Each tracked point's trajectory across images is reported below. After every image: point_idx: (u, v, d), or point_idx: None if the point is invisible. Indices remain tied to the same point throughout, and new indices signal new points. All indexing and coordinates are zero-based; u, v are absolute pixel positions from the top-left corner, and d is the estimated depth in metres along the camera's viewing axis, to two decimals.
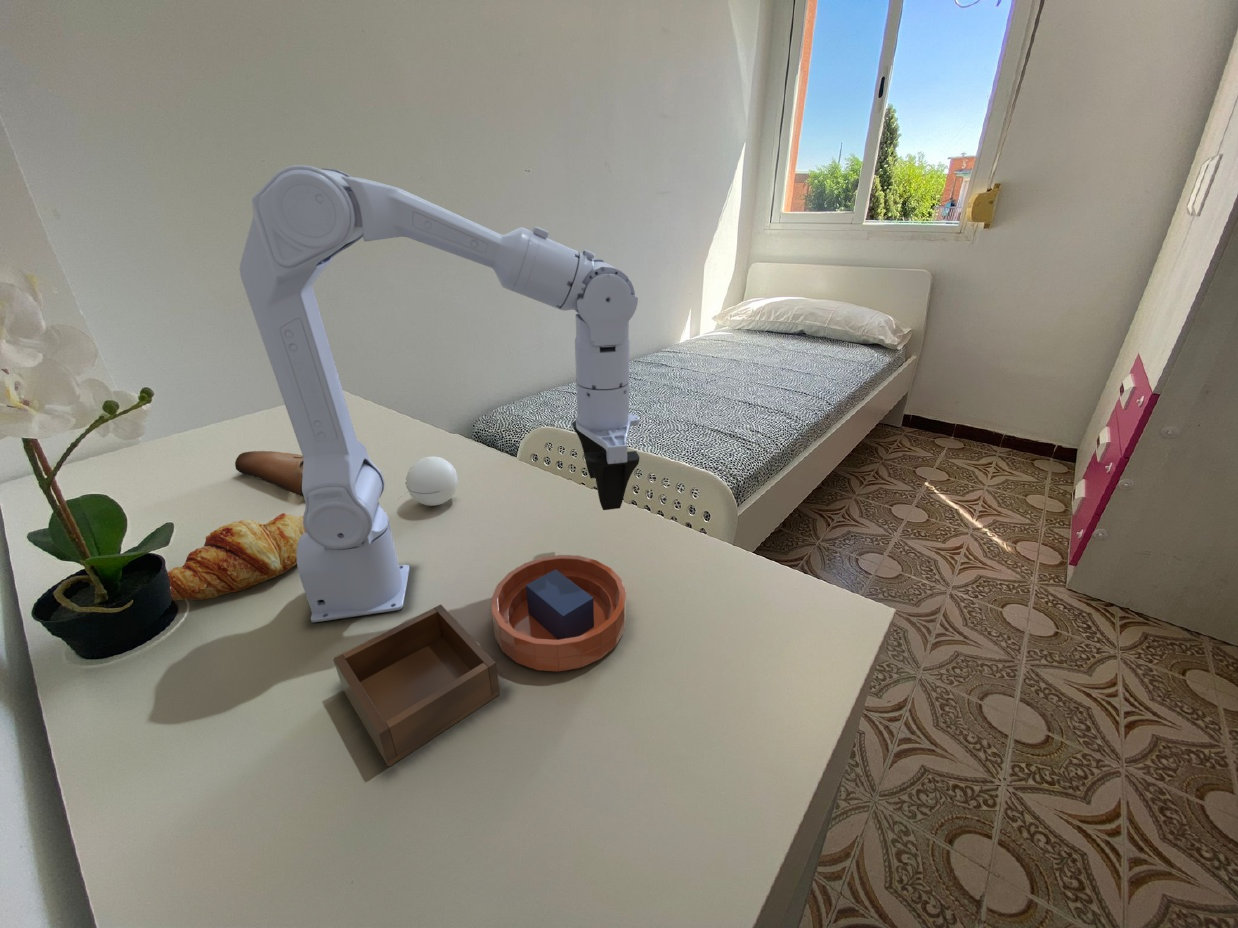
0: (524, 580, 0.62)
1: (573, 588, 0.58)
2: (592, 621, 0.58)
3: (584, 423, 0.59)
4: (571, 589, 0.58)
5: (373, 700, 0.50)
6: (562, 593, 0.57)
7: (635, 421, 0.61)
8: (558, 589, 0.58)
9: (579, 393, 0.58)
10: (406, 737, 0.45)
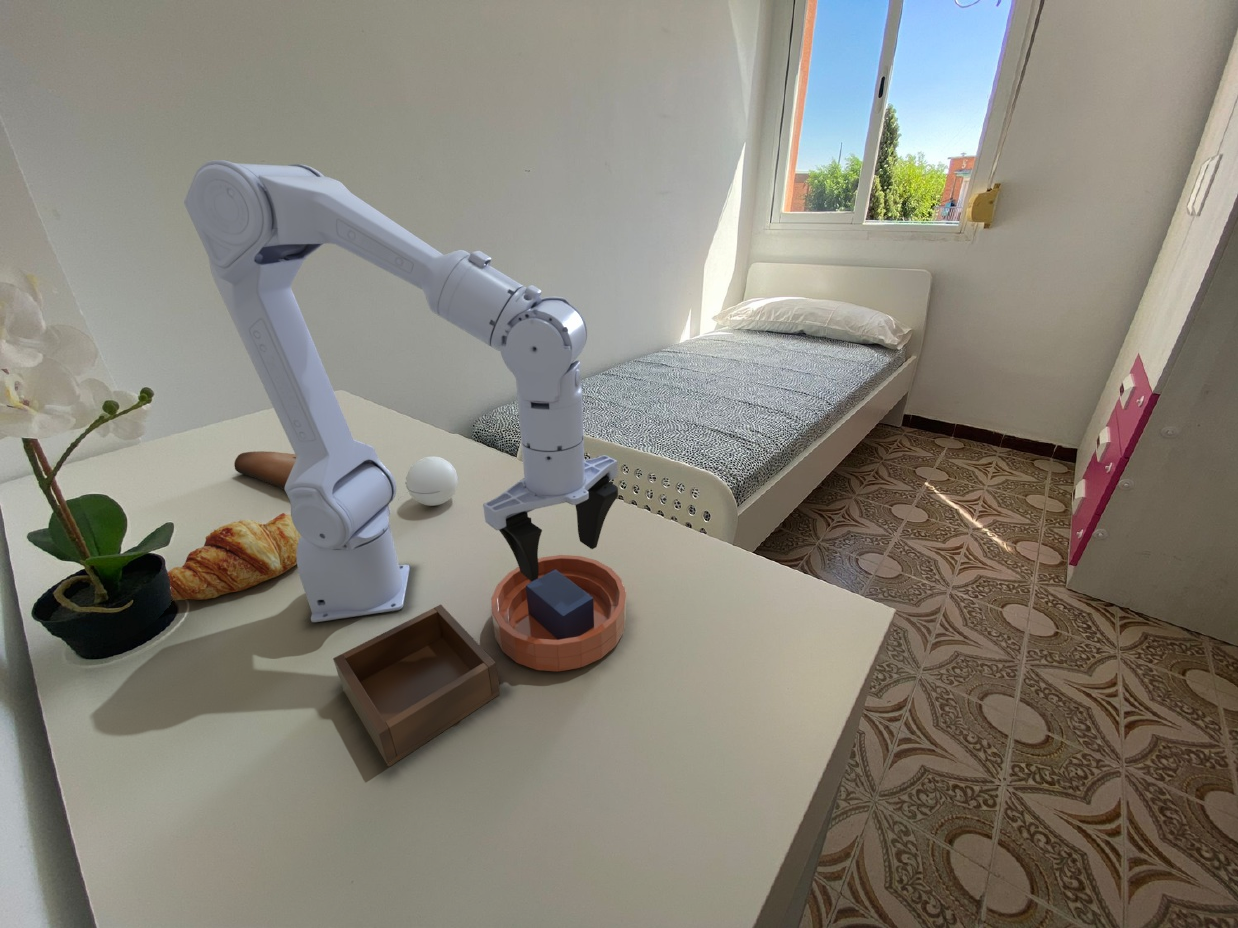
0: (524, 580, 0.62)
1: (573, 588, 0.58)
2: (592, 621, 0.58)
3: None
4: (571, 589, 0.58)
5: (373, 700, 0.50)
6: (562, 593, 0.57)
7: (569, 499, 0.49)
8: (558, 589, 0.58)
9: None
10: (406, 737, 0.45)
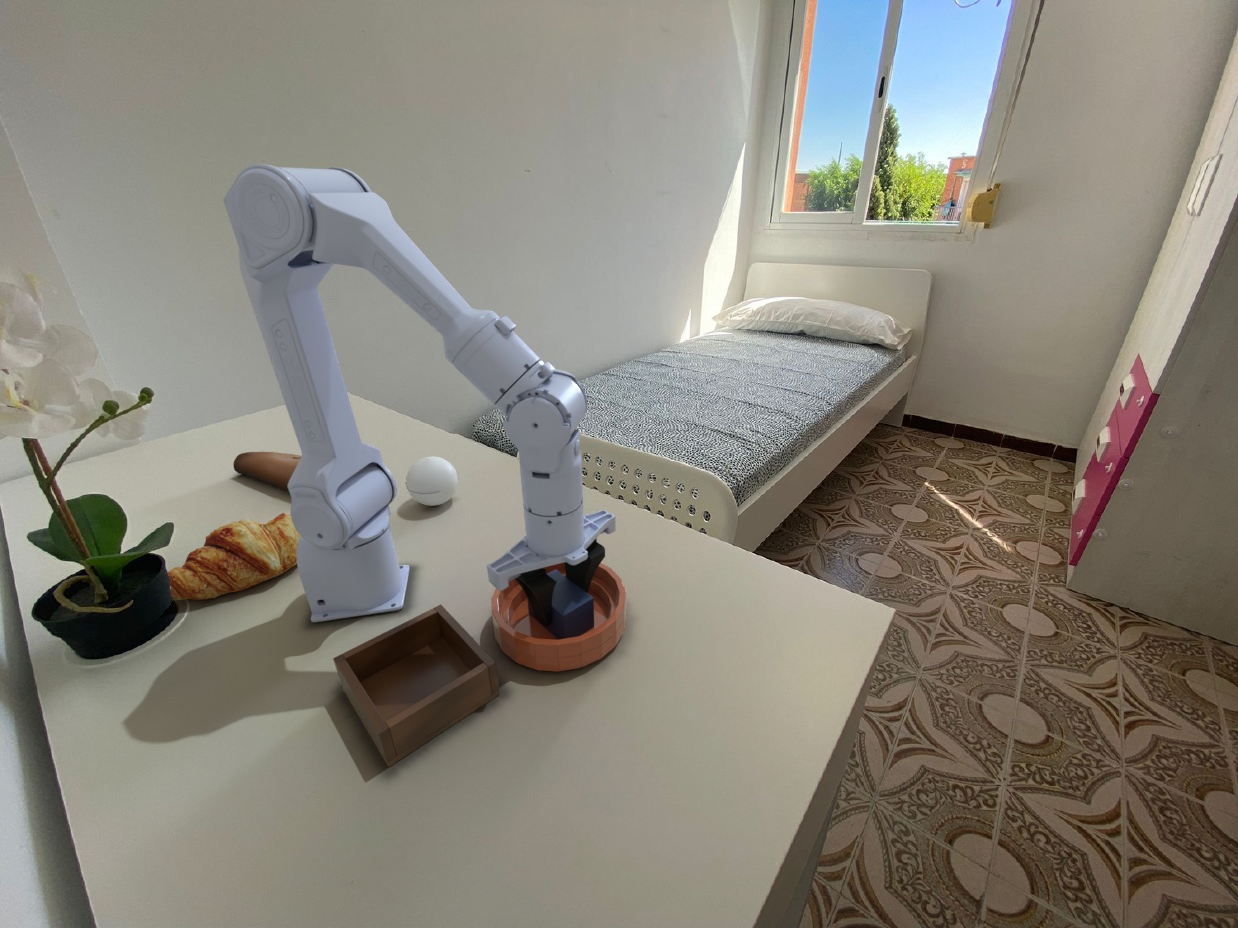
0: None
1: (573, 587, 0.58)
2: (592, 621, 0.58)
3: None
4: (571, 589, 0.58)
5: (373, 700, 0.50)
6: (562, 593, 0.57)
7: (568, 559, 0.51)
8: (558, 589, 0.58)
9: None
10: (406, 737, 0.45)
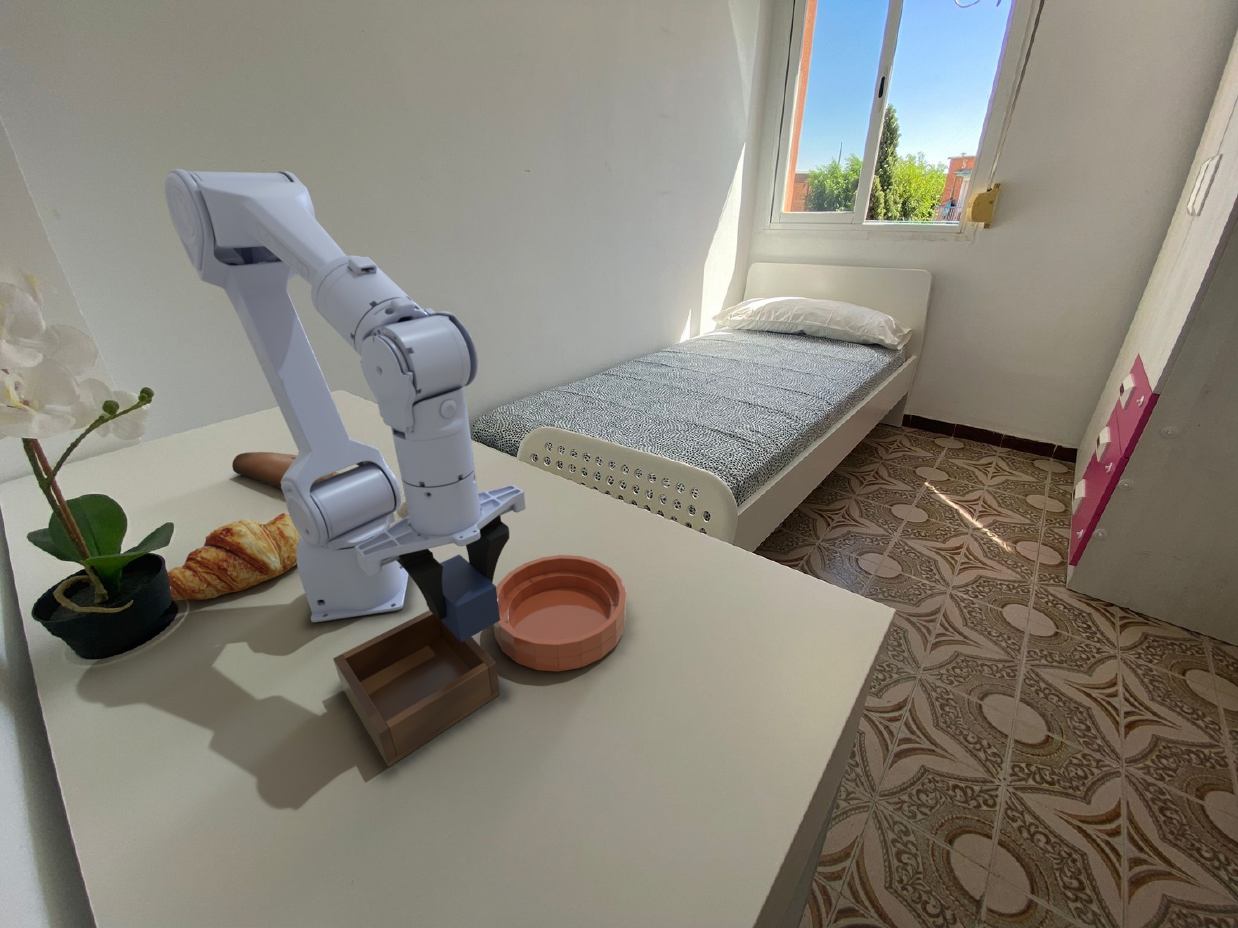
0: (524, 580, 0.62)
1: (474, 575, 0.49)
2: (497, 614, 0.49)
3: None
4: (472, 576, 0.49)
5: (373, 700, 0.50)
6: (461, 581, 0.49)
7: (455, 539, 0.43)
8: (457, 576, 0.49)
9: None
10: (406, 737, 0.45)
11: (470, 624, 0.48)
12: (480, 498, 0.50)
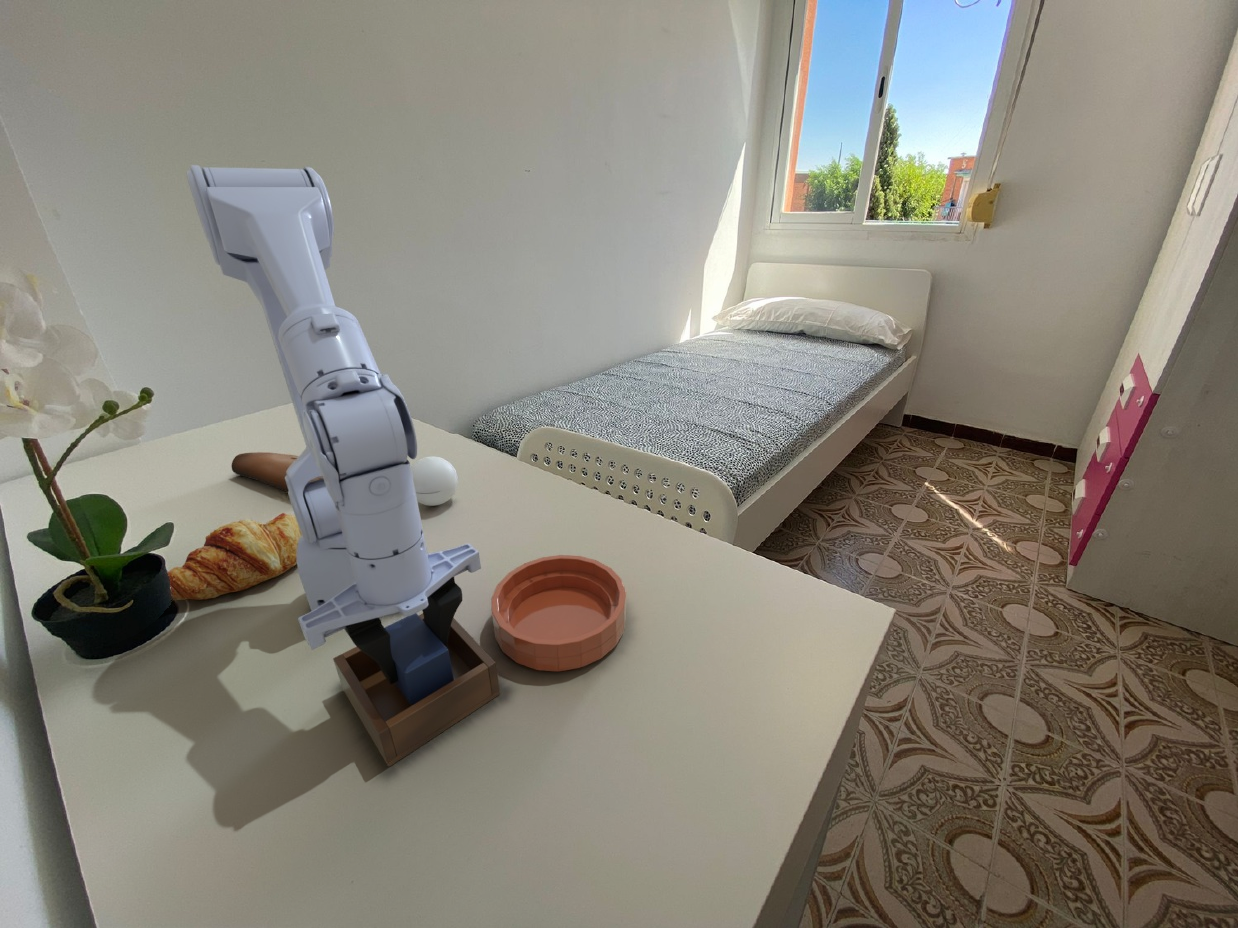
0: (524, 580, 0.62)
1: (428, 636, 0.49)
2: (450, 676, 0.49)
3: None
4: (425, 638, 0.49)
5: (373, 700, 0.50)
6: (413, 644, 0.48)
7: (401, 609, 0.43)
8: (410, 638, 0.49)
9: None
10: (406, 737, 0.45)
11: (421, 689, 0.47)
12: (434, 558, 0.49)
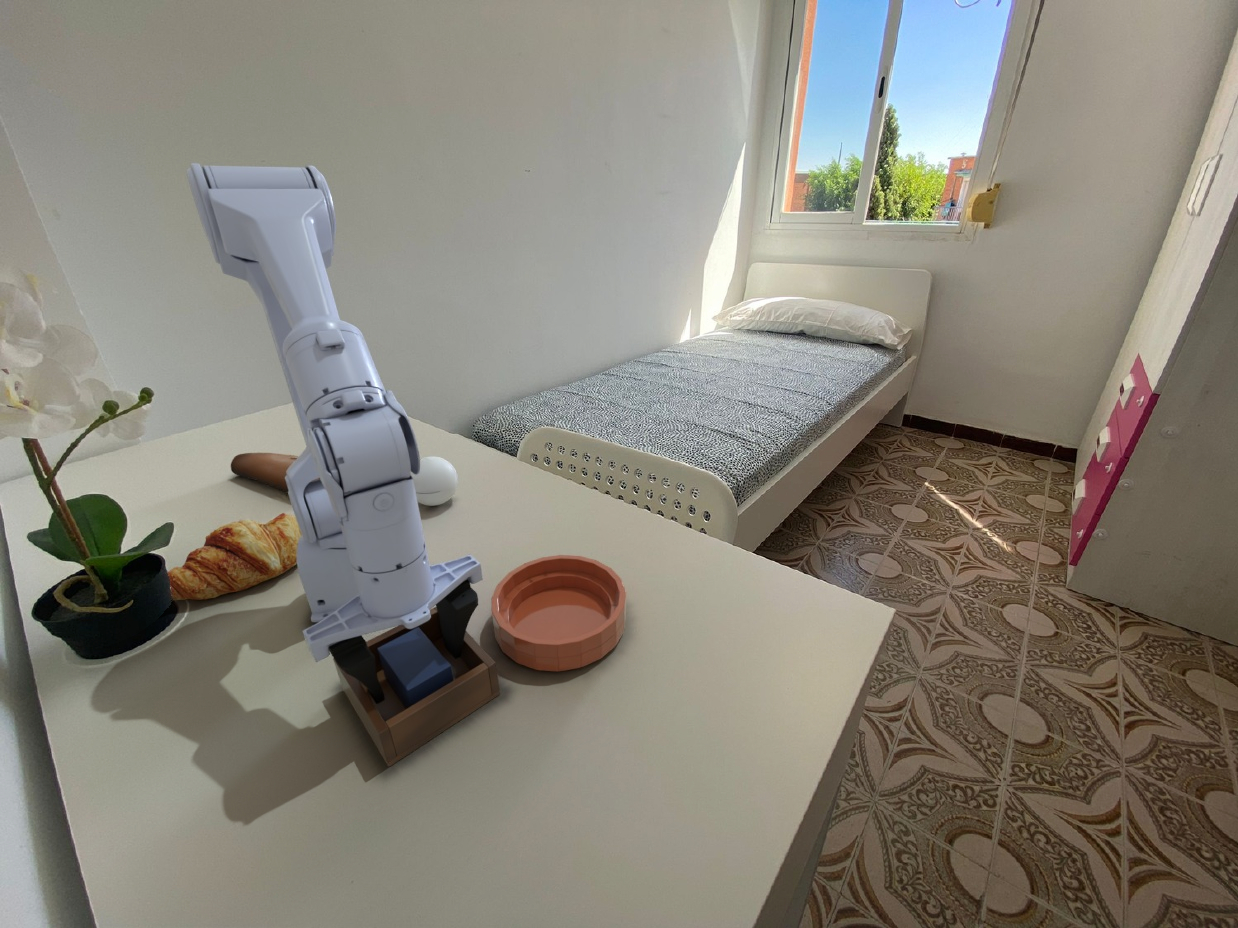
0: (524, 580, 0.62)
1: (431, 652, 0.50)
2: None
3: None
4: (428, 654, 0.49)
5: (373, 700, 0.50)
6: (416, 659, 0.49)
7: (404, 622, 0.43)
8: (413, 653, 0.49)
9: None
10: (406, 737, 0.45)
11: None
12: (436, 570, 0.50)
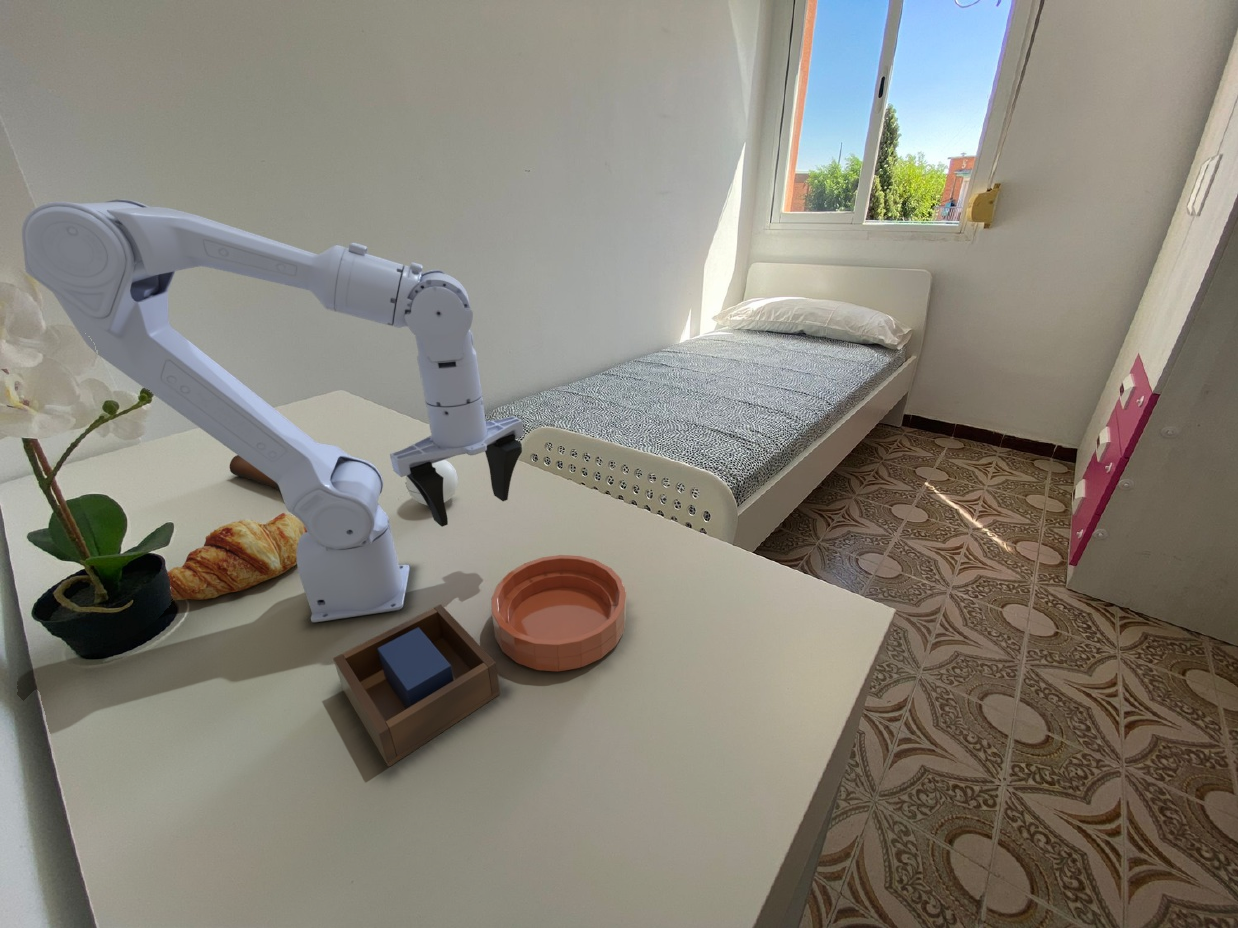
0: (524, 580, 0.62)
1: (431, 652, 0.50)
2: None
3: None
4: (428, 654, 0.49)
5: (373, 700, 0.50)
6: (416, 659, 0.49)
7: (467, 450, 0.55)
8: (413, 653, 0.49)
9: None
10: (406, 737, 0.45)
11: None
12: (487, 426, 0.62)
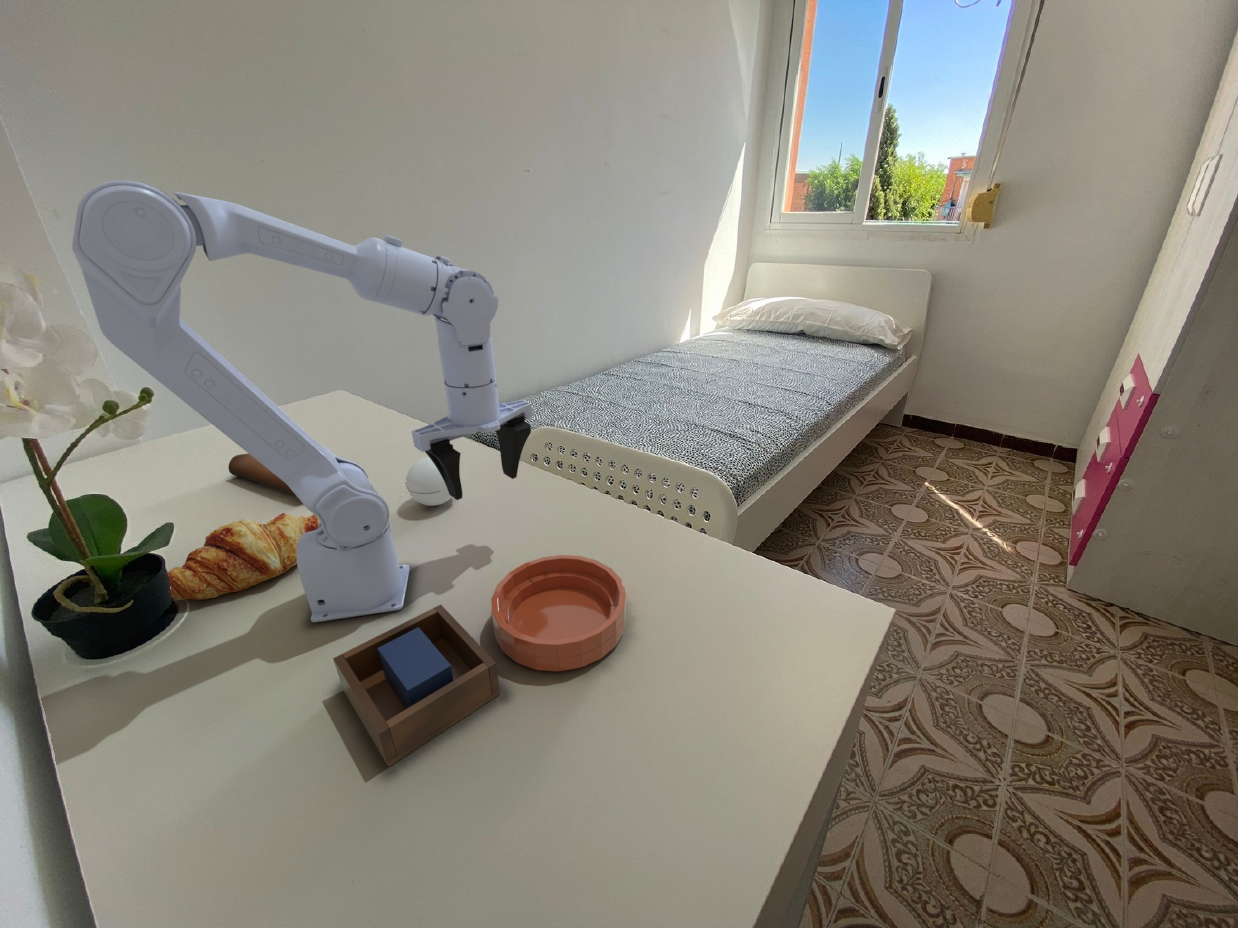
0: (524, 580, 0.62)
1: (431, 652, 0.50)
2: None
3: None
4: (428, 654, 0.49)
5: (373, 700, 0.50)
6: (416, 659, 0.49)
7: (482, 428, 0.61)
8: (413, 653, 0.49)
9: None
10: (406, 737, 0.45)
11: None
12: (499, 408, 0.67)
